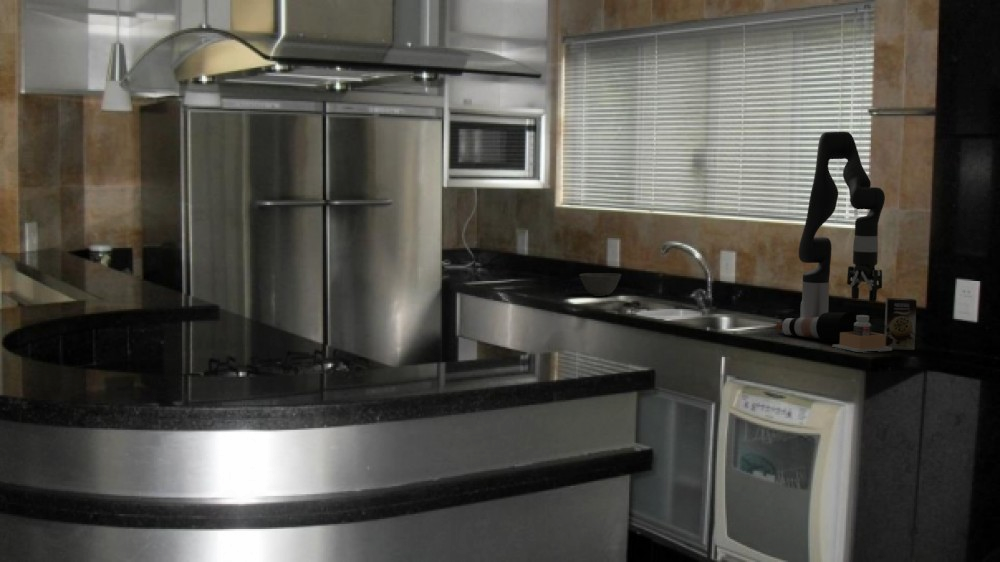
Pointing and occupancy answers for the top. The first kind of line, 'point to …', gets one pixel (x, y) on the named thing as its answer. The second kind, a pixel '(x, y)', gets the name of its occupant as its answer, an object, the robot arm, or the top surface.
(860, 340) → the end holder
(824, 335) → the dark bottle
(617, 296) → the top surface
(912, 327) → the cookie box
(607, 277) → the bowl
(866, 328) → the pill bottle
